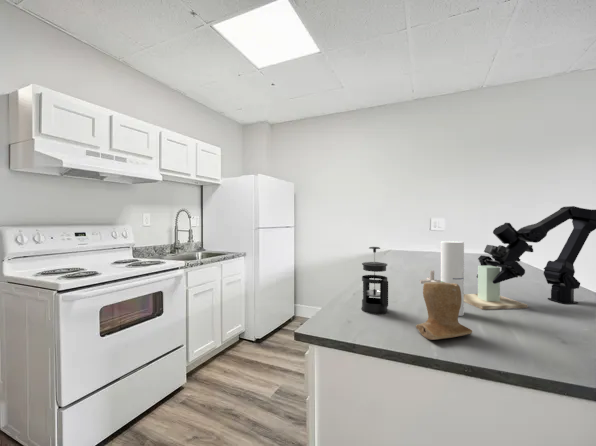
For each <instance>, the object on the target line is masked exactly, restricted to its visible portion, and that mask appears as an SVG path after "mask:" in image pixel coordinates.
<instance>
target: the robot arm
mask: <svg viewBox="0 0 596 446" xmlns="http://www.w3.org/2000/svg"><path fill="white" fill-rule="evenodd" d="M568 220H572V221H571V223H572V226H573V228H572V231H571V232H570V234H569V236H568V238H567V240H566V242H565V244H564V246H563V248H562V249H561V251H560V253H559V255H558V256H557V258H556V259H554V260H548V261H547V263H546V265H545V267H544V268H543V275H544V278H545V281H546V282H547V284H548V285H551V289H550V297H547V300H550V301H553V302H556V303H561V304H567V305H568V304H579V302H578V301H577V300H576V301H575V300H574V299H575V296H574V295H575V292H574V291H575V290H576V289H580V286H581V282H580V281H579V280H578V279H577V278H576V277H575V273H576V269H575V266H574V264H575V262H576V260H577V258H578V257H579V255H580V253H581V251H582V249H583V247H584V245H585V243H586V241H587V239H588V237H589V235H590V234H591V233H592V232H594V231H595V230H596V209H589V208H582V207H578V206H574V205H571V206H562V207H560V208H559V210H556V211H555V212H553V213H551V214H550V215H548V216H546V217H545V218H543V219H542V220H540V221H538V222H535V223H532V224H528V225H526V226H523V227H520V228H519V229H518V230H516V229H515V227H513V224H511V223H510V222H504V223H503V224H501V225H499V226H497V227H494V229H493V231H492V233H493V235H494V236H495V237H496V238H497V239H498V240H499V241H500V242H501V243H502V244H504V245H498V246H497V245H492V244H486V246H485V248H484V251H483V253H484V254H489V255H491V256H489V255H483V254H482V255H480V256H479V257H478V258H477V260H478V262H479V263H480V266H486V265H491V266H495V267H499V268H500V272H499V274H498V275H497V276H496V277H495V279H494V280H493V283H494V284H496V283H499V282H500V283H502V282H504V281H507V280H511V279H515V278H522V277H523V276H524V275H525V274H526V269H525V268H524V267H523V266H522V265H521V264H520V263H519V262H521V259H520V258H521V257H522V255H524V254H525V253H526V252H528V253H534V248H533V245H532V244H529V243H536V244H537V243H540V242H541V241H543V239H545V238H546V237H547V234H548V232H550V231H552V230H553V229H555V228H556V227H558V226H560V225H561V224H563V223H565V222H567V221H568ZM505 245H507V246H505ZM476 278H477V279H478V273H476Z"/></svg>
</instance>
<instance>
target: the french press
mask: <svg viewBox="0 0 596 446" xmlns="http://www.w3.org/2000/svg"><path fill="white" fill-rule="evenodd" d="M368 249H371V250H372V251H373V261H365V262H362V263H361V265H362V267H363V268H362V269H363V270H364V271H366V272H372V273H373V274H365V275H364V274H363V275H362V276H361V281H362V299H361V311H363V312H364V313H367V314H370V315H371V314H372V315H384V314H387V313H388V312H389V309H388V307H389V281H388V277H387V276H385V275H381V274H376V272H377V273H378V272H386V271H387V266H388V263H385V262H378V261H376V252H377V250H379V249H381V247H380V246H370V247H368ZM370 284H373V288H372V289H370ZM376 284H377V285H378V284H379V289H376Z"/></svg>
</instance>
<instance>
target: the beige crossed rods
mask: <svg viewBox="0 0 596 446" xmlns="http://www.w3.org/2000/svg"><path fill="white" fill-rule="evenodd" d="M425 282H441V279H435V270H432V269H430V270H429V277H426V279H419V284H421V285H422V284H423V285H424V283H425Z"/></svg>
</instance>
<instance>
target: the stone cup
mask: <svg viewBox="0 0 596 446" xmlns="http://www.w3.org/2000/svg"><path fill="white" fill-rule="evenodd" d="M422 287H423V288H422V294H423V295H422V296H423V298H424V302H425V306H426V311H427V315H428V318H427V320H426V321H425V322H422V323H418V324H416V325H415V327H416V329H417V330H418V332H419V333H420V335H422V336H423V337H424V338H425V339H427V340H430V341H431V340H433V341H435V340H436V341H437V340H444V339H451V338H456V337H462V336H467V335H470V334H472V333H473V330H472V329H470V328H469V327H467V326H465V325H463V324H461V323H460V322H459V316H458V315H459V310H460V307H461V300H462V299H461V290H460V286H459V285H458V284H456V283H445V282H425V283H424V284H423V286H422Z"/></svg>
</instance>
